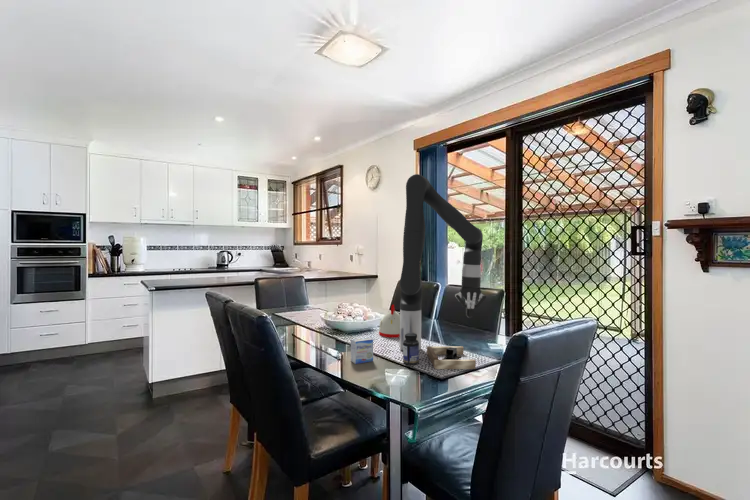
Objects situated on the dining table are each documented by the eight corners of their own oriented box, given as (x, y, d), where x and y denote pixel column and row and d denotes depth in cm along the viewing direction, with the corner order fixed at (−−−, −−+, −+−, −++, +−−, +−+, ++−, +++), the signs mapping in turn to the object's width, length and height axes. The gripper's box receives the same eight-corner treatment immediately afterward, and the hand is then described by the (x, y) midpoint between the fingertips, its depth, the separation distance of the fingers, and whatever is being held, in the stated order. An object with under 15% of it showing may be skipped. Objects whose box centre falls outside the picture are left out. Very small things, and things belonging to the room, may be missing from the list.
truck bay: (434, 369, 139) (435, 359, 139) (426, 353, 158) (426, 345, 158) (475, 368, 139) (475, 359, 139) (462, 353, 158) (462, 345, 158)
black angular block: (449, 354, 159) (449, 343, 159) (466, 358, 155) (466, 346, 155) (436, 362, 149) (436, 350, 149) (454, 365, 145) (454, 353, 144)
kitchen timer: (377, 337, 186) (377, 306, 185) (381, 330, 199) (381, 302, 199) (405, 338, 183) (405, 307, 183) (407, 331, 197) (407, 302, 197)
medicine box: (355, 364, 144) (355, 341, 144) (350, 361, 148) (350, 339, 148) (373, 361, 148) (373, 339, 148) (368, 358, 152) (368, 336, 152)
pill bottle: (420, 361, 148) (420, 333, 148) (417, 365, 143) (417, 336, 142) (405, 359, 150) (405, 331, 150) (401, 364, 145) (401, 335, 144)
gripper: (484, 275, 159) (483, 316, 159) (453, 274, 159) (451, 315, 160) (490, 277, 151) (488, 320, 152) (457, 275, 152) (455, 318, 152)
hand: (469, 317), depth 156 cm, fingers closed
